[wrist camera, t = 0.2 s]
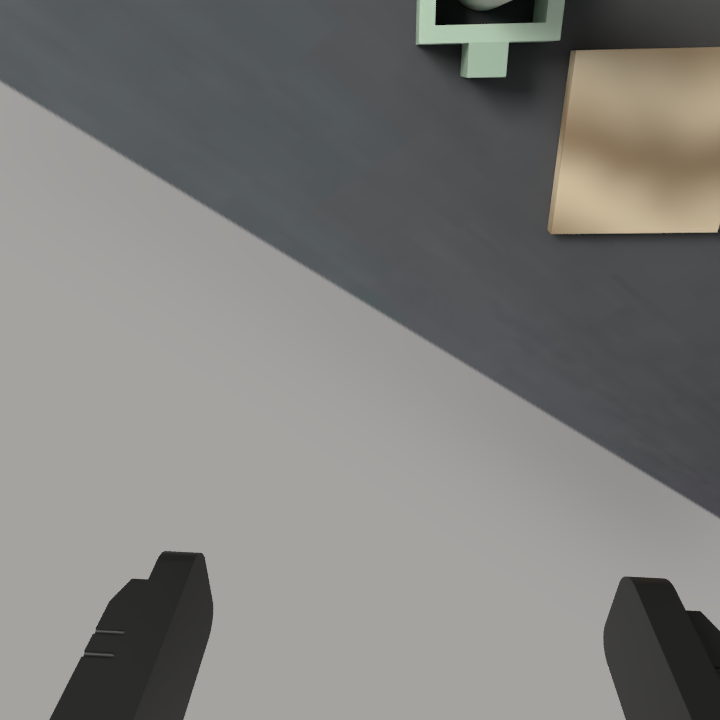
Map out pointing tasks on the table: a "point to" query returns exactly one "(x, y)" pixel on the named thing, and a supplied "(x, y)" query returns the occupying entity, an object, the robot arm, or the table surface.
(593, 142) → the oak pad
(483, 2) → the thermos bottle
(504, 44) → the collar
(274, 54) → the table surface
